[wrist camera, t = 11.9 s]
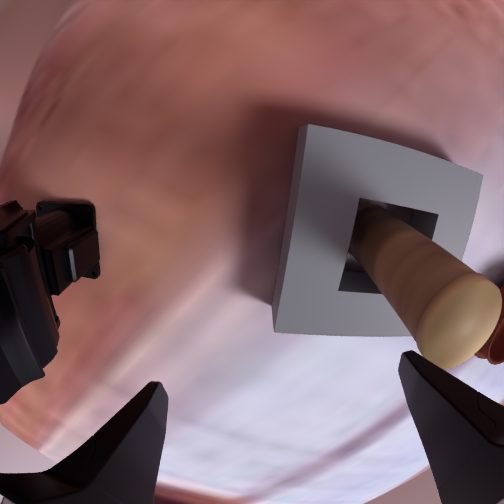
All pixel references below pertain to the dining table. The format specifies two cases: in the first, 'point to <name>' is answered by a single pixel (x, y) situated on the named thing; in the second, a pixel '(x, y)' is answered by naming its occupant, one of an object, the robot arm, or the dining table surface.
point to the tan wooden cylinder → (426, 287)
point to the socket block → (342, 222)
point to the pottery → (495, 340)
